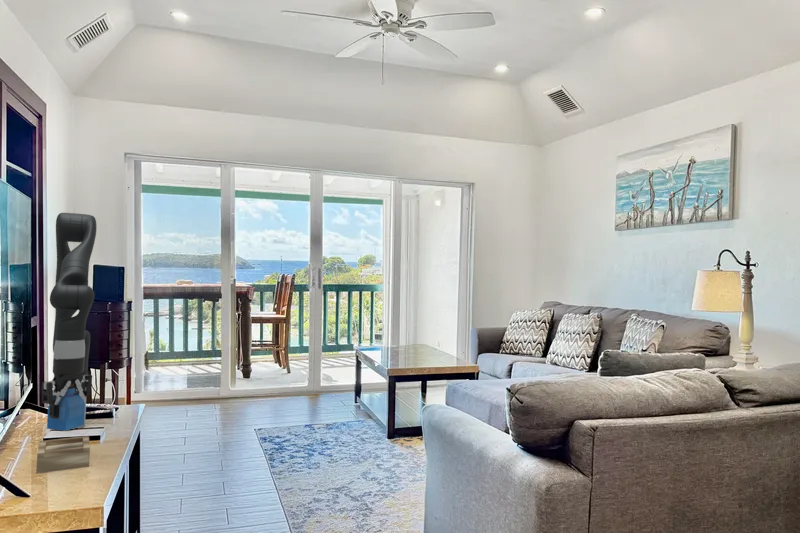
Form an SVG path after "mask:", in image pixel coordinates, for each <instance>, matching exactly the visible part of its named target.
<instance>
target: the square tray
mask: <svg viewBox="0 0 800 533" xmlns="http://www.w3.org/2000/svg"><path fill="white" fill-rule="evenodd" d="M90 443H91V442H90V436H89V435H86V436H85V435H84V436H83V435H82V436H75V437H65V438H57V439H56V438H55V439H48V440H46V439H45V440H39V444H38V449H37V454H36V471H35V473H36V474H42V473H50V472H56V471H66V470H72V469H78V468H79V469H80V468H88V467H90V455H91V454H90V452H91V444H90Z"/></svg>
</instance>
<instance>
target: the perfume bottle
mask: <svg viewBox="0 0 800 533" xmlns="http://www.w3.org/2000/svg"><path fill="white" fill-rule="evenodd" d="M73 387H74V384H70V386H69V387H68V389H67V391H66V393H65V395H64V396H63V397H62V398H61V400H60V402H59V404H58V405H59V417H58V418H56V419H53V418H51V417H50V416H49V408H50V405H49V404H48V405H47V419H46V420H47V421H46V429H48V430H56V431H67V432H68V431H70V429H73V428H76V427H79V426H82V425H84V412H85V402H84V401H83V400H82V398H81V397H80V395H76V394H73V392H74V391H75V388H73ZM55 399H56V398H55ZM73 430H74V429H73Z"/></svg>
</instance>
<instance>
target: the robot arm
mask: <svg viewBox="0 0 800 533" xmlns="http://www.w3.org/2000/svg"><path fill="white" fill-rule="evenodd" d="M55 220H56V221H55V241H56V242H55V245H56V270H55V271H56V272H55V285H54V286H53V287H52V290H51V292H50V295H49V303H50V305H51V307H53V309H55V317H54V327H53V338H52V339H53V340H52V352H53V358H52V373H53V378H52V380H49V381H42V382H41V402H42V404H45V405H46V404H47V405H48V406H49V405H50V408H49V416H50V417H51V418H53V419H56V418H58V417H59V405H58V404H59V402H60V400H61V398H62V397H63V396H64V395H65V393H66V391H67V389H68V387H69V386H70V384H74V387H73V388H75V391H74V392H73V394H76V395H80V397H81V398H82V400H83V401H84V402H85V412H84V425H82V426H79V427H76V428H78V429H81V428H83V427H85V426H86V414H87V412H86V411H87V397H88V396H90V395H91V389H92V383H93V382H92V380H93V375H92V374H89V372H88V371H89V370H88V368H89V355H90V346H91V333H90V331H88V330H87V329H86V326H87V320H88V316H89V313H90V311H91V308H92V305H93V304H94V301H95V292H94V289H93V288H92V287H91V286H90V285H89V273H90V272H89V271H90V270H89V269H90V260H91V257H92V254H93V251H94V250H93V249H94V247H95V246H94V245H95V242H96V241H95V240H96V237H97V218H96V217H95V216H94V215H91V214H85V213H75V212H74V213H73V212H59V214H57V216H56V219H55ZM69 242H70V243H79V244H78V245H76V247H74V248H73V249H72V250H71V249H70V246H69ZM77 312H78V313H77ZM76 313H77V314H76ZM75 314H76V315H75ZM55 398H56V399H55Z"/></svg>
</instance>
